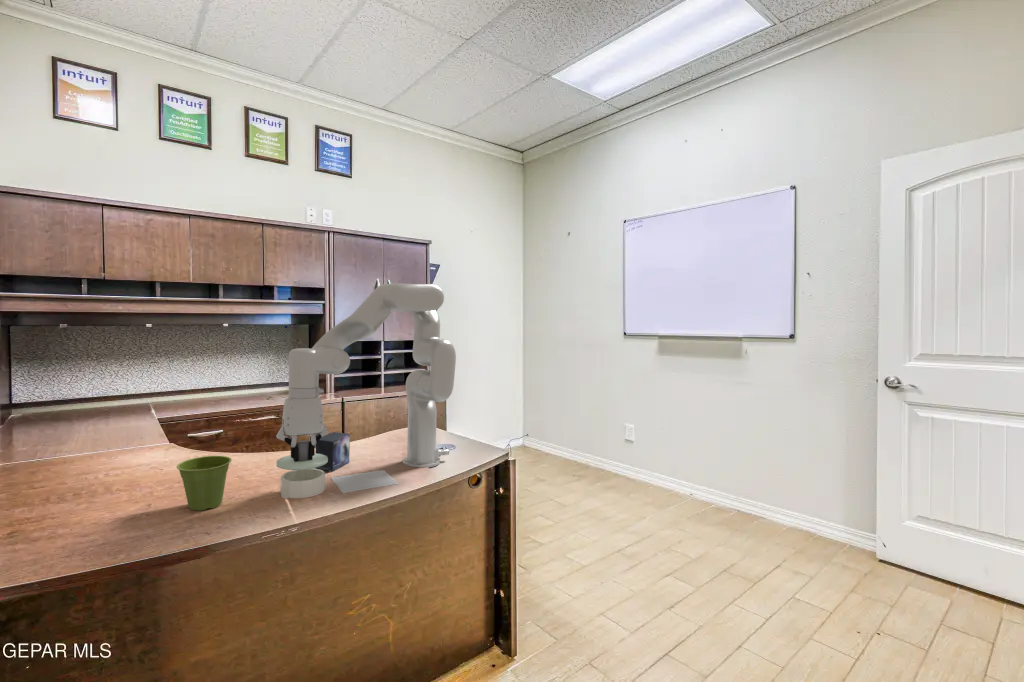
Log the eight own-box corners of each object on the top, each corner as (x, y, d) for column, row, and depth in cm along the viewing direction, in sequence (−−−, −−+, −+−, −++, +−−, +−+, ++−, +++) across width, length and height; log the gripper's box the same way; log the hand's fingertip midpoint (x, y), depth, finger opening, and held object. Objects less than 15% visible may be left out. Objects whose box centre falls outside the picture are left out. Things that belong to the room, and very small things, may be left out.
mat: (383, 471, 155) (383, 469, 155) (398, 485, 143) (398, 483, 143) (330, 479, 146) (331, 477, 146) (342, 495, 134) (342, 493, 134)
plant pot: (183, 499, 128) (183, 457, 127) (235, 495, 132) (235, 454, 131) (170, 517, 117) (170, 471, 116) (227, 512, 121) (227, 467, 120)
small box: (332, 474, 151) (333, 441, 150) (313, 472, 152) (314, 439, 152) (350, 464, 161) (351, 432, 161) (332, 462, 163) (333, 431, 162)
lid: (322, 453, 144) (322, 434, 143) (332, 465, 133) (332, 444, 132) (273, 459, 137) (273, 438, 136) (280, 472, 126) (280, 450, 125)
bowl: (319, 483, 143) (319, 466, 143) (328, 495, 134) (328, 477, 133) (278, 489, 137) (278, 472, 137) (284, 503, 128) (284, 484, 127)
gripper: (331, 389, 141) (330, 452, 142) (268, 393, 132) (267, 459, 133) (337, 393, 135) (336, 459, 136) (272, 397, 126) (271, 467, 127)
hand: (302, 458), depth 135 cm, fingers closed on lid, 3 cm apart
